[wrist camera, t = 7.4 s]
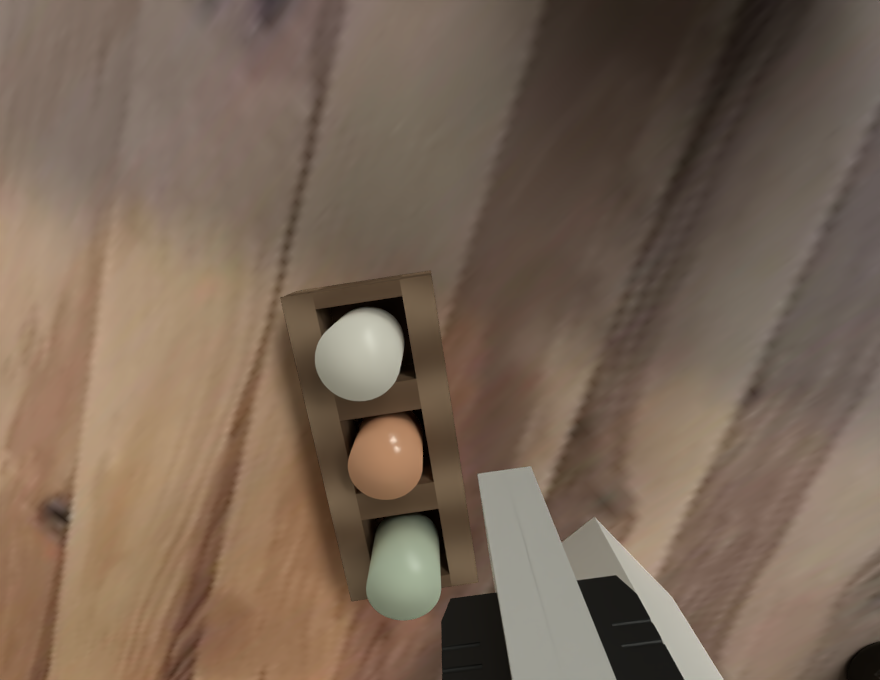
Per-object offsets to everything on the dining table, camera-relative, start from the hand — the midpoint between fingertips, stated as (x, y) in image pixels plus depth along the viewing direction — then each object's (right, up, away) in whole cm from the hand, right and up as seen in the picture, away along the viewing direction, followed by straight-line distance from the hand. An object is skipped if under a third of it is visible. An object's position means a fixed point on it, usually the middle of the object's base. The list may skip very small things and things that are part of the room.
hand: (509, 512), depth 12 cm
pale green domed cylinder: (-5, -11, +22) cm, 24 cm away
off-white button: (-7, +5, +18) cm, 20 cm away
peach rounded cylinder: (-6, -2, +22) cm, 23 cm away
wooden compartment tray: (-6, -2, +23) cm, 24 cm away
